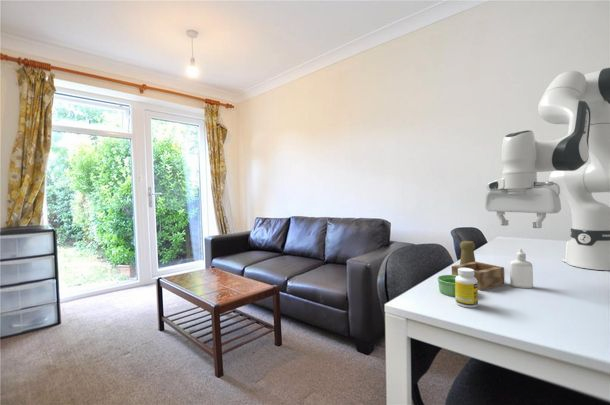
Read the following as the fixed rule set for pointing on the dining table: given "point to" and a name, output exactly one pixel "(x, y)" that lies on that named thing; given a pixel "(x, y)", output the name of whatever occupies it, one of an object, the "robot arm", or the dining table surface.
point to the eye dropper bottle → (521, 271)
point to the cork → (467, 252)
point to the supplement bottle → (466, 288)
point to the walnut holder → (483, 274)
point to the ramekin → (447, 284)
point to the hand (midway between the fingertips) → (520, 226)
